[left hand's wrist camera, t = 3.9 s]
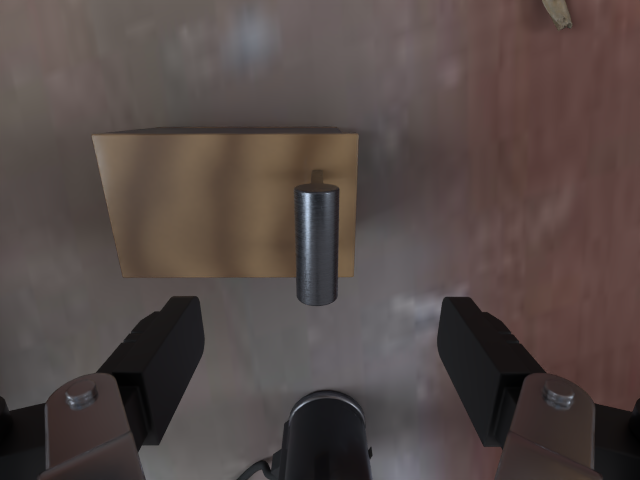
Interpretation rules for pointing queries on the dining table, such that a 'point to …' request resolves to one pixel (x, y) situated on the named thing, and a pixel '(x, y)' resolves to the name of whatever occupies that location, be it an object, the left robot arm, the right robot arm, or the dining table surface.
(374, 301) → the dining table surface
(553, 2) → the jawbone
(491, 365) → the left robot arm
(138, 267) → the lid
